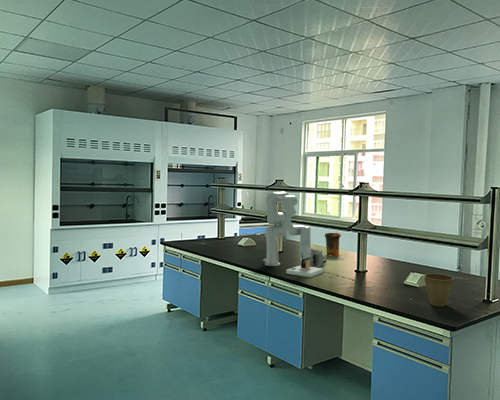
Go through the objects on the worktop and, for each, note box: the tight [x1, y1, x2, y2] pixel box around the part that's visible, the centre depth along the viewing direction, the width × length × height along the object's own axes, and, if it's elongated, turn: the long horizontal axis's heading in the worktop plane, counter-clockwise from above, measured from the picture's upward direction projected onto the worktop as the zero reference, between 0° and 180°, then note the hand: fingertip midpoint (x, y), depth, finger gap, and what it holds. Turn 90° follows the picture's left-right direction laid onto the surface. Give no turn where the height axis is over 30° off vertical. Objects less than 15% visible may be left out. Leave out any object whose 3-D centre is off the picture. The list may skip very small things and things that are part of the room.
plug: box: [303, 258, 311, 269], centre depth 314 cm, size 5×5×7 cm
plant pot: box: [424, 273, 454, 307], centre depth 236 cm, size 15×15×16 cm
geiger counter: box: [310, 248, 328, 269], centre depth 338 cm, size 14×6×25 cm
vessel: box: [324, 232, 342, 257], centre depth 386 cm, size 14×14×20 cm
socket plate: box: [286, 264, 324, 278], centre depth 314 cm, size 20×20×4 cm
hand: (305, 266), depth 314 cm, fingers closed on plug, 5 cm apart
